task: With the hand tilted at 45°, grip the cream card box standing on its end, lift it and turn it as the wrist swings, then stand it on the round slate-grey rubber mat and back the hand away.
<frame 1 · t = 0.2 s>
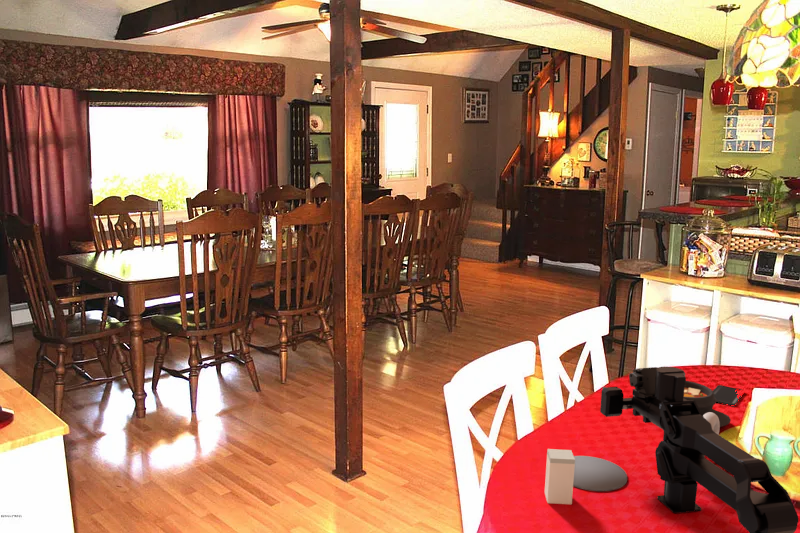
hand: (620, 387, 170), 17 cm above the table, tool horizontal, fingers open, 9 cm apart
casserole: (680, 417, 197), on the table
mat: (590, 473, 162), on the table
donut: (706, 452, 175), on the table
phone: (725, 398, 213), on the table
card box: (557, 498, 151), on the table
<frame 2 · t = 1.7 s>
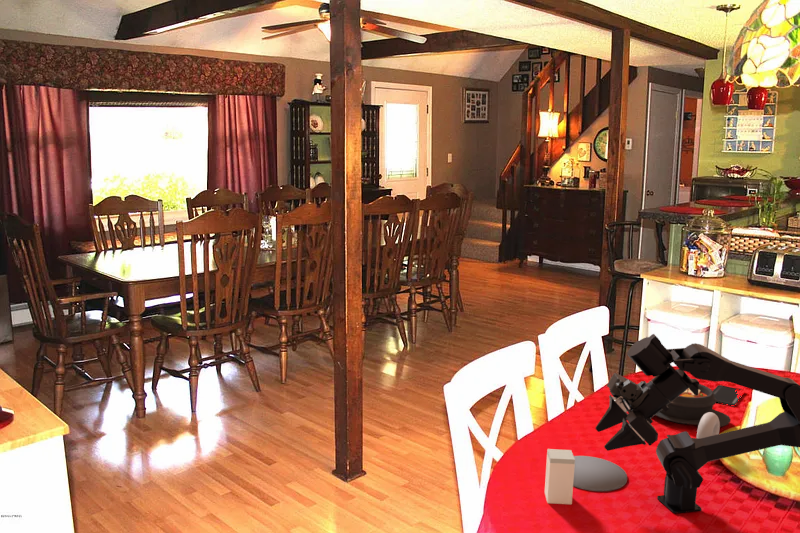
hand: (601, 439, 148), 14 cm above the table, tool tilted 45°, fingers open, 9 cm apart
nothing on the table moved.
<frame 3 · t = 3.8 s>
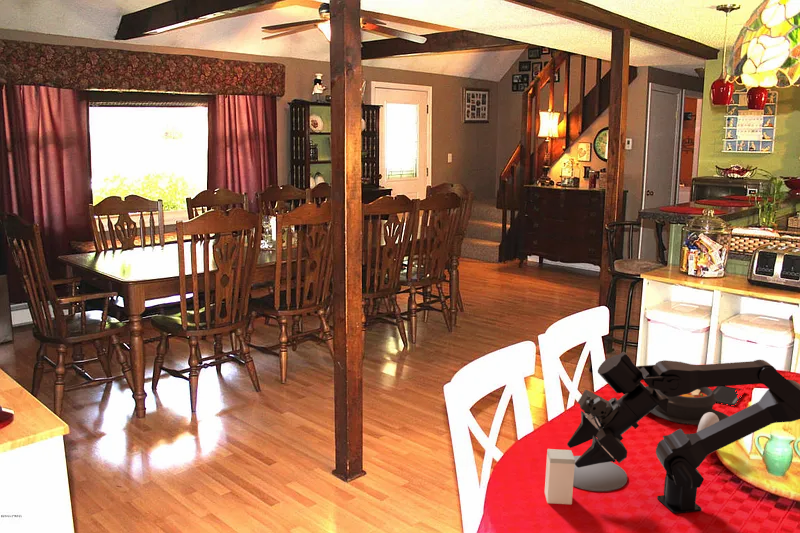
hand: (572, 455, 149), 10 cm above the table, tool tilted 45°, fingers open, 9 cm apart
nothing on the table moved.
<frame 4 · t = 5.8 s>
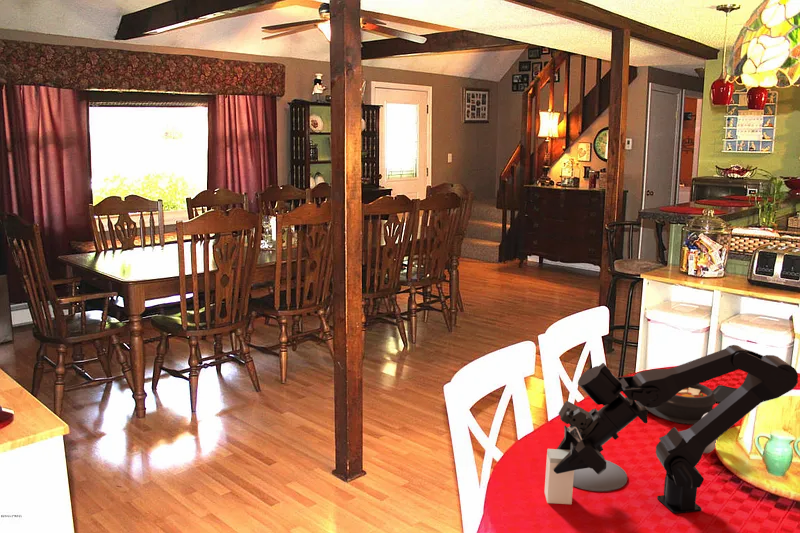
hand: (553, 466, 149), 7 cm above the table, tool tilted 45°, fingers closed on card box, 4 cm apart
card box: (557, 498, 151), on the table, touching gripper
everything else where it was.
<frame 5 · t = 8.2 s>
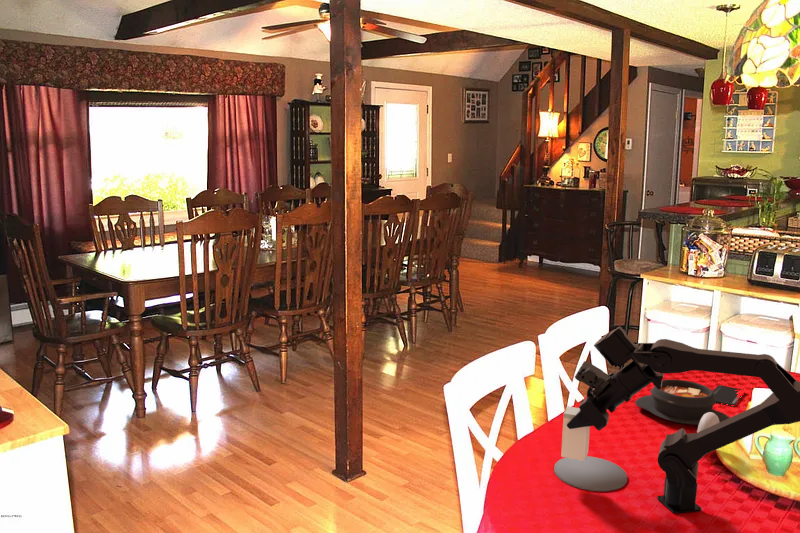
hand: (570, 423, 156), 14 cm above the table, tool tilted 45°, fingers closed on card box, 4 cm apart
card box: (574, 454, 157), point 6 cm above the table, touching gripper
everything else where it was.
when the fingers open (9 cm above the table, at t = 10.6 s): card box drops 1 cm, resting on mat.
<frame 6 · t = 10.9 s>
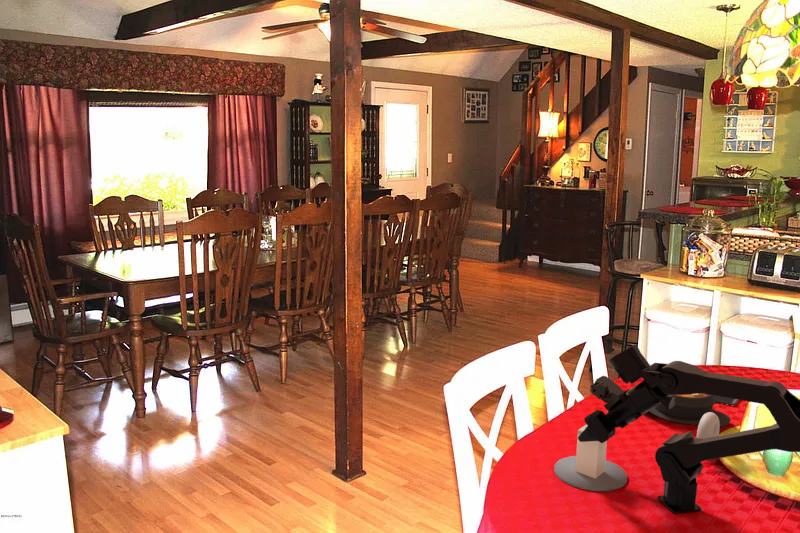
hand: (587, 434, 161), 9 cm above the table, tool tilted 45°, fingers open, 8 cm apart
card box: (589, 471, 162), point 1 cm above the table, touching mat
everything else where it was.
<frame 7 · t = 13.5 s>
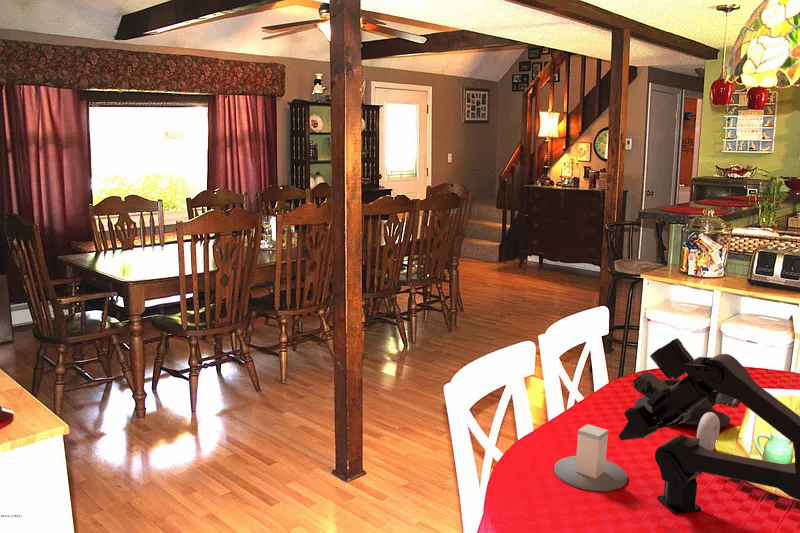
hand: (631, 433, 155), 12 cm above the table, tool tilted 40°, fingers open, 9 cm apart
nothing on the table moved.
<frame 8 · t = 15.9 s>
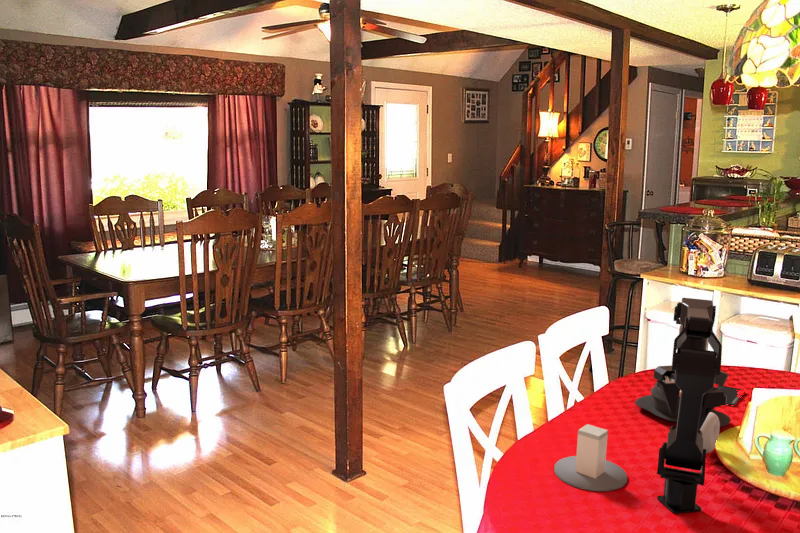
hand: (684, 421, 160), 13 cm above the table, tool pointing down, fingers open, 9 cm apart
nothing on the table moved.
at the end: card box inside the target area on the mat (0.1 cm from its centre), point 0.6 cm above the mat's base; card box tilted 0°; the gripper is holding nothing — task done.
